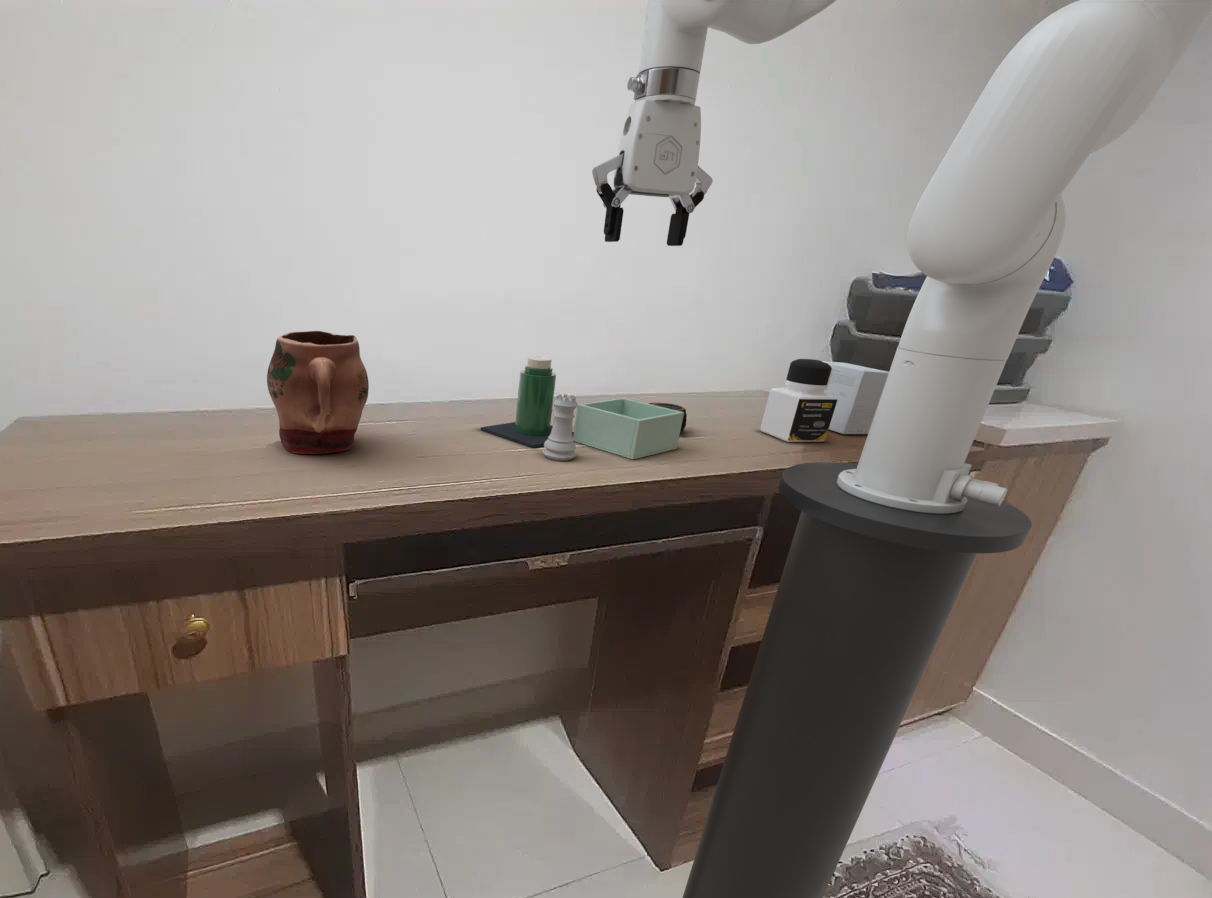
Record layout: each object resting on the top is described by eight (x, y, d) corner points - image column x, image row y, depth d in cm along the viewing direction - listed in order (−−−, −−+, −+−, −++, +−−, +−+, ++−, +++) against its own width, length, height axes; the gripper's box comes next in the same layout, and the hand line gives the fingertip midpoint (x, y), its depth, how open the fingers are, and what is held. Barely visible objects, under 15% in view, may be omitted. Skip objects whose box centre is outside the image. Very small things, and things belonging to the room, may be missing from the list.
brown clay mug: (387, 469, 77) (388, 348, 71) (282, 476, 73) (273, 347, 67) (351, 427, 93) (349, 326, 87) (263, 430, 89) (255, 324, 83)
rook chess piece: (535, 453, 87) (542, 393, 84) (561, 450, 89) (569, 391, 86) (555, 462, 84) (563, 400, 80) (582, 459, 86) (591, 398, 82)
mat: (584, 437, 96) (584, 435, 96) (533, 447, 89) (533, 445, 89) (531, 421, 103) (531, 419, 103) (480, 429, 97) (480, 427, 97)
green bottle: (556, 433, 96) (565, 360, 92) (532, 437, 93) (540, 362, 88) (531, 425, 100) (539, 354, 95) (507, 429, 97) (514, 356, 92)
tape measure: (638, 431, 102) (642, 407, 100) (641, 422, 108) (645, 399, 106) (683, 437, 100) (688, 413, 98) (683, 427, 106) (688, 404, 104)
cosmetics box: (874, 434, 110) (895, 371, 105) (843, 435, 108) (864, 370, 103) (827, 420, 119) (846, 361, 114) (798, 420, 117) (816, 360, 112)
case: (676, 448, 94) (684, 412, 91) (632, 459, 87) (639, 420, 85) (617, 431, 101) (622, 397, 98) (572, 440, 94) (577, 404, 92)
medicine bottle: (787, 442, 101) (809, 363, 96) (758, 431, 107) (778, 356, 102) (825, 442, 102) (849, 364, 97) (794, 431, 109) (815, 357, 104)
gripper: (618, 78, 76) (598, 239, 83) (743, 95, 81) (713, 247, 88) (590, 91, 83) (574, 240, 90) (707, 106, 87) (683, 247, 94)
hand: (643, 243), depth 89 cm, fingers open, 9 cm apart
